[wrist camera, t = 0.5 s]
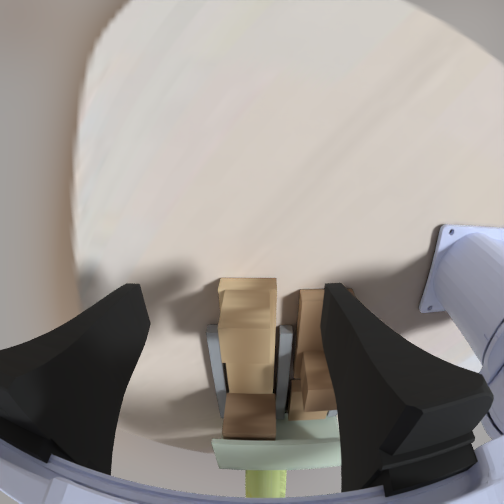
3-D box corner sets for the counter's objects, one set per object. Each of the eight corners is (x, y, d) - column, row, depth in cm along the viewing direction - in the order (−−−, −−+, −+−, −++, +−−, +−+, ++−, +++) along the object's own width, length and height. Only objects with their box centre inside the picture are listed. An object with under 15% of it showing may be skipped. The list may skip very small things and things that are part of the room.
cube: (275, 393, 25) (276, 433, 21) (273, 417, 27) (274, 454, 23) (226, 392, 25) (221, 432, 21) (230, 416, 27) (226, 452, 23)
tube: (234, 429, 31) (222, 574, 14) (268, 417, 30) (265, 577, 12) (263, 444, 33) (259, 575, 16) (295, 434, 32) (300, 575, 14)
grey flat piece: (360, 322, 23) (365, 335, 22) (334, 409, 29) (336, 419, 28) (208, 324, 24) (205, 337, 22) (221, 410, 29) (220, 421, 28)
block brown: (351, 288, 22) (372, 337, 17) (335, 364, 25) (345, 412, 20) (300, 289, 22) (308, 340, 17) (292, 366, 26) (296, 415, 21)
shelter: (345, 380, 27) (358, 439, 20) (334, 413, 29) (342, 465, 23) (219, 382, 27) (211, 443, 21) (225, 415, 30) (219, 468, 24)
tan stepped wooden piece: (276, 278, 21) (279, 328, 16) (271, 405, 28) (271, 448, 24) (220, 278, 22) (209, 327, 17) (233, 404, 29) (229, 447, 24)
